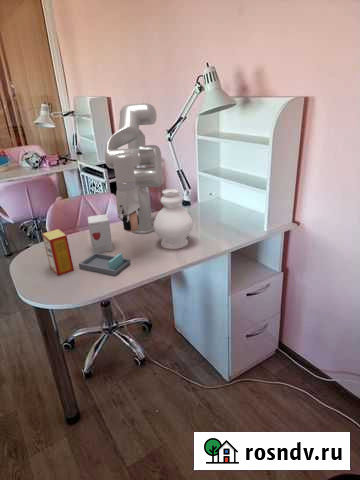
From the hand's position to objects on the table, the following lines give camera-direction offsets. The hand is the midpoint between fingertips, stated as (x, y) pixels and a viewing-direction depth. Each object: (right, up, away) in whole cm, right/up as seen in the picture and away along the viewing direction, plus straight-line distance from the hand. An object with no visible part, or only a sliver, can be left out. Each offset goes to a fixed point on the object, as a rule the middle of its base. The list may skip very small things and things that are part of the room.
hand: (131, 226), depth 140 cm
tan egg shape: (0, -1, 0) cm, 1 cm away
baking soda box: (-29, -18, -2) cm, 34 cm away
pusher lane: (-11, -17, -2) cm, 20 cm away
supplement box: (-15, -10, +15) cm, 23 cm away
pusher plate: (-5, -17, -4) cm, 19 cm away
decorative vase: (+18, -7, +15) cm, 24 cm away
